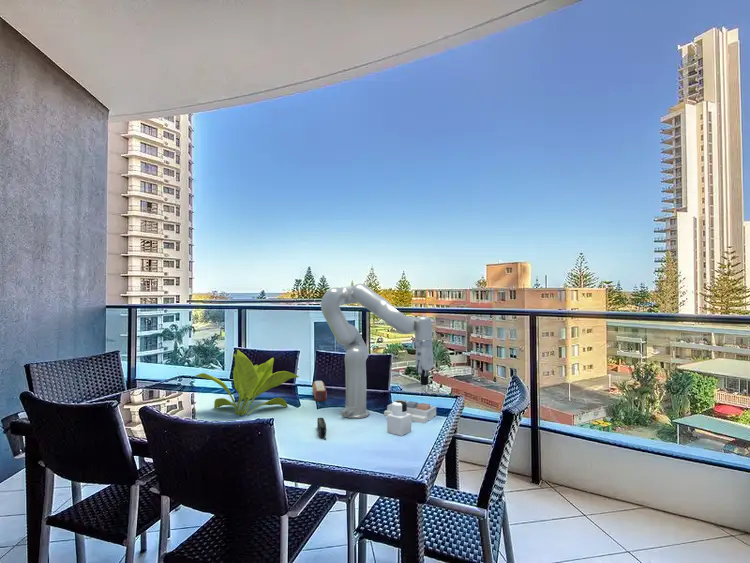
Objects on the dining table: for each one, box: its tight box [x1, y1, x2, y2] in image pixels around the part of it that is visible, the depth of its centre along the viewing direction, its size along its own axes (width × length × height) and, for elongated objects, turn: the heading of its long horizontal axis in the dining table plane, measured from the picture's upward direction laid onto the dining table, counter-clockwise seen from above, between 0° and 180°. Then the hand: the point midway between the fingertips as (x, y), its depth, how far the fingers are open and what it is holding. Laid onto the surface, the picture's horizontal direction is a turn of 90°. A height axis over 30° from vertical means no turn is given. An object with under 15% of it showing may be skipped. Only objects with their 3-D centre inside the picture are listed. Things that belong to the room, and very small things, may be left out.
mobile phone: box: [316, 417, 327, 440], centre depth 161 cm, size 5×3×15 cm
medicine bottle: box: [386, 400, 412, 437], centre depth 163 cm, size 7×7×12 cm
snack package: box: [312, 380, 328, 402], centre depth 219 cm, size 21×7×7 cm, turn 11°
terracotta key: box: [417, 402, 431, 410], centre depth 183 cm, size 4×4×2 cm
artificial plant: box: [194, 349, 300, 417], centre depth 191 cm, size 42×43×30 cm
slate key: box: [406, 400, 419, 408], centre depth 186 cm, size 4×4×2 cm
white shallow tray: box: [383, 401, 437, 424], centre depth 185 cm, size 13×20×4 cm, turn 58°
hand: (424, 384), depth 183 cm, fingers closed
